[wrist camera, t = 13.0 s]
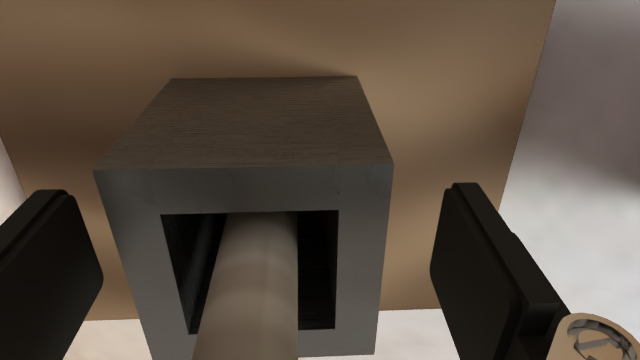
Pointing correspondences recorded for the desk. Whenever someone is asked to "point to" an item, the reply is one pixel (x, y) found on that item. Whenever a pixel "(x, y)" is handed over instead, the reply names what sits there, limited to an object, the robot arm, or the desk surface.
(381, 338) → the desk surface
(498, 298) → the robot arm
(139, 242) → the grey hollow box
